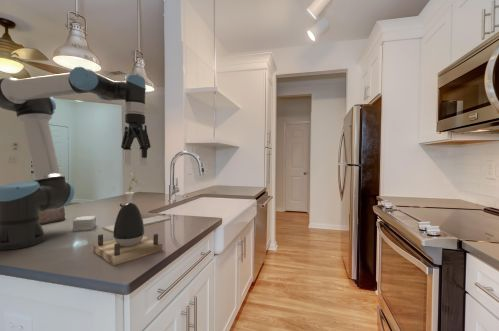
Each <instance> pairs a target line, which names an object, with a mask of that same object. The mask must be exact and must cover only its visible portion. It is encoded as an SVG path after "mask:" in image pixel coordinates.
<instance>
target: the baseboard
mask: <svg viewBox="0 0 499 331" xmlns="http://www.w3.org/2000/svg"><path fill="white" fill-rule="evenodd" d="M142 219H143V224H144V225H145V226H149V225H153V224H156V223H157V224H158V223H161V222H166V220H167V221H170V220H171V217H168V216H167V215H166V213H163V214H158V215H156V216H151V217H147V218H142ZM114 226H115V224H112V225H108V226H107V225H106V226H104V227H101V230H105V231H107V232H110V233H112V234H113V231H114Z"/></svg>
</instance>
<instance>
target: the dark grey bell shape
mask: <svg viewBox="0 0 499 331" xmlns="http://www.w3.org/2000/svg"><path fill="white" fill-rule="evenodd" d="M119 207H120V209H119V211H118V214H117V215H116V219H115V223H114V225H115V226H114V231H113V233H112V234H113V235H112V237H113V238H114V239H113V240H115V241H116V243H120V246H123V247H130V246H134V245H136V244H138V243H139V242H140V241H141V240H142V238H143V236H145V226H144V224H143V219H144V218H143V216H142V213H141V211H140V209H139V207H138V206H137V205H136V203H133V202H132V203H124V204H123V203H120V204H119Z"/></svg>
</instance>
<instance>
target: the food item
mask: <svg viewBox="0 0 499 331" xmlns="http://www.w3.org/2000/svg"><path fill="white" fill-rule="evenodd" d="M65 220H66V211H65V206H63V207H60V208H57V209H51V210H46V211H42V212H39V222H40V224H41V226H42V225H45V224H50V223H55V222H62V221H65Z"/></svg>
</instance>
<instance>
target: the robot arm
mask: <svg viewBox="0 0 499 331" xmlns="http://www.w3.org/2000/svg"><path fill="white" fill-rule="evenodd" d="M124 78H125V79H124V80H120V81H119V80H115V81H114V80H112V79H110V78H107V77H106V76H103V75H101V74H99V73H97V72H95V71H93V70H92V69H89V68H86V67H83V66H76V67H74V68H73V69H71V70H70V72H66V73H58V74H49V75H43V76H42V75H41V76H35V77H27V78H20V79H18V78H15V77H4V78H3V77H1V78H0V109H2V110H7V111H11V112H15V113H16V117H17V120H19V121H20V122H22V124H23V127H24V134H25V137H26V142H27V143H26V144H27V146H28V151H29V155H30V160H31V165H32V170H33V174H34V176H33V178H32V180H25V181H16V182H11V183H5V184H3V185H1V186H0V251H9V250H10V251H11V250H17V249H18V250H19V249H22V248H27V247H32V246H35V245H38V244H41V243H42V242H44V241H45V239H46V237H45V236H46V233H45V231H44V229H43V227H42V225H41V224H40V222H39V212H42V211H46V210H51V209H57V208H60V207H63V206H64V207H65V206H67V205H69V204H70V203H71V202H72V201H73V199H74V197H75V188H74V186H73V184H71V183H70V182H69V181H67V180H66V177H65V175H63V174H62V173H60V168H59V163H58V159H57V154H56V151H55V144H54V141H53V140H54V139H53V136H52V132H51V126H50V122H49V121H50V120H51V119H52V118H53V116H52V115H54V113H55V110H57V109H56V108H57V105H56V104H57V103H56V101H55V99H54V97H55V98H56V97H63V96H70V95H71V96H72V95H79V94H81V95H82V94H88V93H89V94H90V93H91V94H94V95H96V96H97V97H98V98H99V99H100V100H103V101H125V102H124V105H125V106H124V112H125V115H124V122H125V123H126V124H128V126H124V132H123V136H122V141H121V145H120V148H121V149H123V165H124V166H125V165H126V166H131V164H132V148H131V147H132V145H133V143H134V139H137V143H138V145H139V160H138V161H139V167H147V166H148V150H149V149H150V148H151V147H152V146H151V142H150V139H149V135H148V130H147V125H146V115H145V114H146V110H147V109H146V90H147V89H146V79H145V78H144V77H143V76H142V75H138V74H131V73H129V74H126V75H125V77H124Z"/></svg>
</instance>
